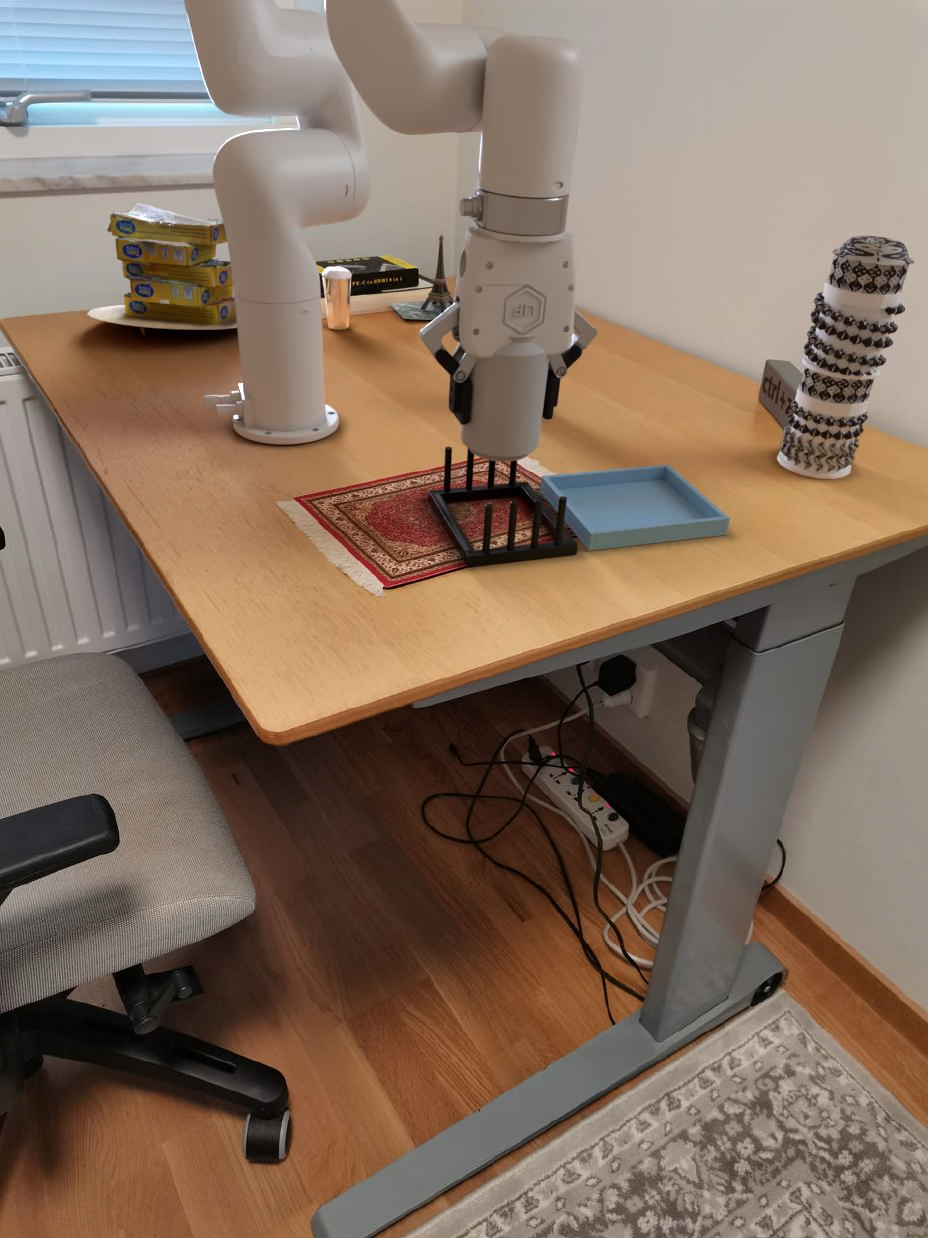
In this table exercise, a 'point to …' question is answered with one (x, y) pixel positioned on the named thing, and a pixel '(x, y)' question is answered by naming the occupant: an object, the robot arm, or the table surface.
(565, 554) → the dish rack
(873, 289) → the decorative candle
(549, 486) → the tray
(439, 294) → the eiffel tower figurine
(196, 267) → the stacked yellow boxes
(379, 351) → the table surface
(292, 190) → the robot arm
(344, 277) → the glass of beer
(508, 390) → the can
